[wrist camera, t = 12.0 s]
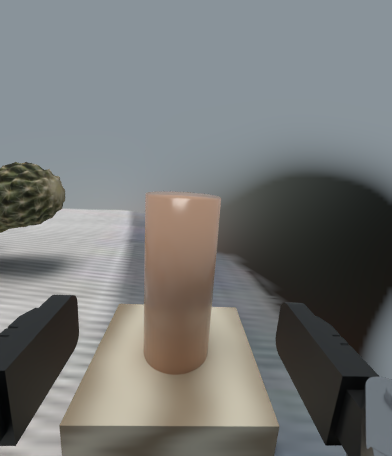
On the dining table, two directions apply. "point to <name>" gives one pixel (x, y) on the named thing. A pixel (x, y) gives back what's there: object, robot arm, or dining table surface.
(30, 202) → the potted plant
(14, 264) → the dining table surface
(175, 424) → the base slab
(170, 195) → the tall pink cylinder
